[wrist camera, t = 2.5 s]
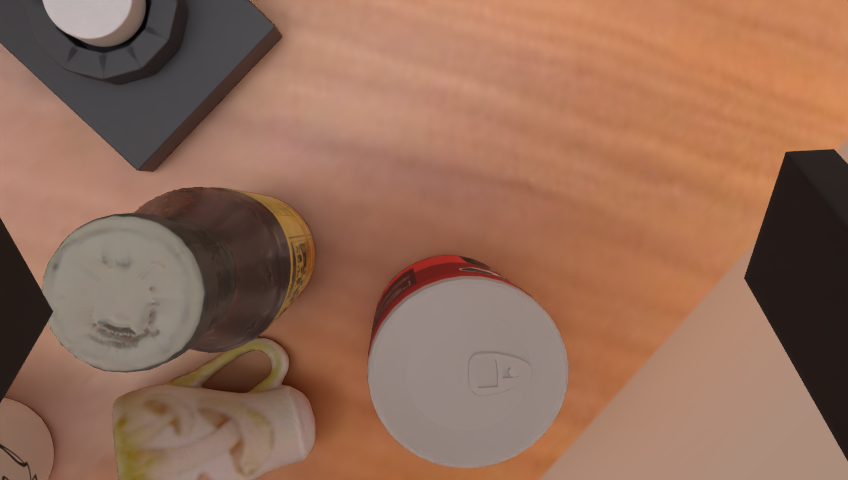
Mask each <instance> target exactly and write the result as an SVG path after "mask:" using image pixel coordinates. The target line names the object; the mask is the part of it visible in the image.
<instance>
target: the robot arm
mask: <svg viewBox="0 0 848 480" xmlns="http://www.w3.org/2000/svg"><path fill="white" fill-rule="evenodd" d="M744 279H745V280H746V282H747V284H748V286H749V287H750V289H751V291H752V293H753V294H754V296H755V298H756V300H757V302H758V303H759V305H760V307H761V308H762V310H763V312H764V314H765V316H766V317H767V319H768V321H769V323H770V324H771V326H772V328H773V330H774V332H775V333H776V335H777V337H778V339H779V340H780V342H781V344H782V346H783V347H784V349H785V351H786V353H787V354H788V356H789V358H790V360H791V362H792V363H793V365H794V367H795V369H796V370H797V372H798V374H799V376H800V378H801V379H802V381H803V383H804V385H805V386H806V388H807V390H808V392H809V393H810V395H811V397H812V399H813V400H814V402H815V404H816V406H817V407H818V409H819V411H820V413H821V414H822V416H823V418H824V420H825V422H826V423H827V425H828V427H829V429H830V431H831V432H832V434H833V436H834V438H835V439H836V441H837V443H838V445H839V446H840V448H841V450H842V452H843V453H844V455H845V457H846V459H847V460H848V164H847V163H846V162H845V161H844V160H843V159H842V157H841V156H840V155H839V154H838V153H837V152H836V151H835V150H834V149H830V150H812V151H793V152H786V153H785V156H784V159H783V163H782V166H781V169H780V172H779V175H778V178H777V181H776V184H775V187H774V190H773V193H772V196H771V199H770V202H769V205H768V208H767V211H766V214H765V217H764V220H763V223H762V226H761V229H760V232H759V235H758V238H757V241H756V244H755V247H754V250H753V253H752V256H751V259H750V262H749V265H748V269H747V272H746V274H745V277H744ZM52 313H53V310H52V308H51V306H50V305H49V303H48V301H47V299H46V298H45V296H44V294H43V292H42V291H41V289H40V287H39V285H38V284H37V282H36V280H35V278H34V276H33V275H32V273H31V271H30V269H29V268H28V266H27V264H26V262H25V261H24V259H23V257H22V255H21V253H20V252H19V250H18V248H17V246H16V245H15V243H14V241H13V239H12V238H11V236H10V234H9V232H8V231H7V229H6V227H5V225H4V223H3V222H2V220H1V218H0V403H1V401H2V400H3V398H4V396H5V394H6V393H7V391H8V389H9V387H10V386H11V384H12V382H13V381H14V379H15V377H16V375H17V374H18V372H19V370H20V369H21V367H22V365H23V363H24V362H25V360H26V358H27V356H28V355H29V353H30V351H31V350H32V348H33V346H34V344H35V343H36V341H37V339H38V337H39V336H40V334H41V332H42V331H43V329H44V327H45V325H46V324H47V322H48V320H49V318H50V317H51V315H52Z"/></svg>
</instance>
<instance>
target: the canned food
mask: <svg viewBox="0 0 848 480" xmlns="http://www.w3.org/2000/svg"><path fill="white" fill-rule="evenodd" d="M568 370H569V366H568V360H567V353H566V348H565V345H564V343H563V340H562V337H561V335H560V332H559V330H558V329H557V327H556V325H555V324H554V322H553V321H552V319H551V317H550V316H549V314H548V313H547V312H546V311H545V310H544V309H543V308H542V306H541V305H540V304H539V303H538V302H537V301H536V300H535V299H533V298H532V297H531V296H530V295H529V294H527V293H526V292H524V291H523V290H522V289H520V288H519V287H517V286H516V285H514V284H513V283H511V282H510V281H508V280H507V279H506V278H504V277H503V276H501V275H500V274H498V273H497V272H495V271H494V270H492V269H491V268H490V267H488V266H487V265H485V264H483V263H480V262H478V261H476V260H473V259H470V258H465V257H461V256H438V257H431V258H427V259H425V260H422V261H419V262H416V263H414V264H413V265H411V266H409V267H408V268H406V269H404V270H403V271H402V272H401V273H399V274H398V275H397V276H396V277H395V278H394V279H393V280H392V281H391V282H390V284H389V285H388V286H387V287H386V289H385V290H384V292H383V294H382V296H381V298H380V300H379V302H378V305H377V309H376V313H375V317H374V323H373V328H372V334H371V340H370V346H369V352H368V373H367V379H368V385H369V391H370V396H371V399H372V402H373V405H374V407H375V410H376V412H377V415H378V417H379V419H380V420H381V422H382V423H383V425H384V426H385V428H386V429H387V431H388V432H389V434H390V435H391V436H392V437H394V438H395V439H396V440H397V441H398V442H399V443H400V444H401V445H402V446H403V447H404V448H406V449H407V450H409V451H410V452H412V453H413V454H415V455H416V456H418V457H420V458H423V459H425V460H428V461H430V462H432V463H435V464H439V465H444V466H449V467H454V468H478V467H484V466H489V465H494V464H497V463H500V462H503V461H505V460H508V459H511V458H513V457H515V456H516V455H518V454H520V453H521V452H523V451H525V450H526V449H528V448H529V447H530V446H532V445H533V444H534V443H535V442H536V441H537V440H538V439H540V438H541V437H542V436H543V435H544V433H545V432H546V431H547V430H548V428H549V427H550V426H551V424H552V423H553V422H554V420H555V418H556V416H557V414H558V412H559V410H560V408H561V406H562V404H563V401H564V397H565V394H566V390H567V386H568Z"/></svg>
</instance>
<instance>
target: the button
mask: <svg viewBox="0 0 848 480" xmlns="http://www.w3.org/2000/svg"><path fill="white" fill-rule="evenodd" d="M43 4H44V7H45V9H46V12H47V14H48V15H49V17H50V19H51V20H52V21H53V22H54V23H55V25H56V26H57V27H59V28H60V29H61V30H62V31H64V32H66V33H67V34H69V35H71V36H73V37H75V38H77V39H79V40H81V41H83V42H85V43H87V44H90V45H93V46H99V47H110V46H115V45H118V44H121V43H123V42H125V41H127V40H128V39H130V38H131V37H132V36H133V35H134V34H135V33H136V32H137V31H138V29H139V28H140V26H141V24H142V22H143V20H144V16H145V11H146V0H43Z"/></svg>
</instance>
